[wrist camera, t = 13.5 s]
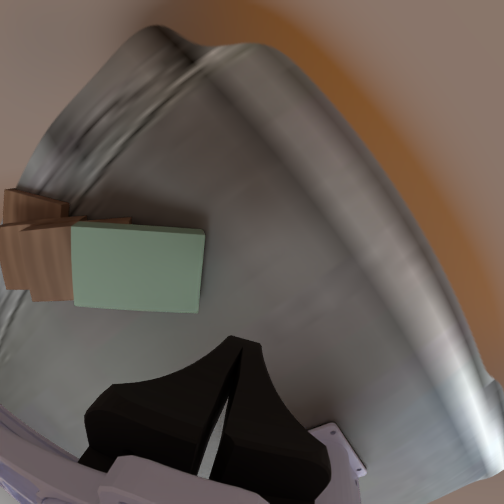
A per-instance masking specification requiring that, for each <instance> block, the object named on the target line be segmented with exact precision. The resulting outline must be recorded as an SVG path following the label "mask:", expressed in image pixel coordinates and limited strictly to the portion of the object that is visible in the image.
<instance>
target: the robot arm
mask: <svg viewBox="0 0 504 504" xmlns="http://www.w3.org/2000/svg"><path fill="white" fill-rule="evenodd" d="M228 396H229V398H228ZM227 399H228V403H227V408H226V414H225V419H224V425H223V430H222V436H221V440H220V444H219V447H218V451H217V454H216V457H215V460H214V464H213V467H212V470H211V473H210V477H209V479H205V478H202V477H198V476H197V474H198V471H199V468H200V465H201V462H202V459H203V456H204V453H205V450H206V447H207V444H208V441H209V439H210V436H211V434H212V432H213V429H214V427H215V425H216V423H217V421H218V419H219V416H220V414H221V412H222V410H223V408H224V405H225V403H226V401H227ZM84 423H85V428H86V433H87V438H88V442H89V447H88V448H87V450H86V451H85V452H84V454H83V455H82V457H81V458H80V459H79V458H77V457H75V456H74V455H72V454H70V453H69V452H67V451H65V450H64V449H62V448H60V447H59V446H57V445H56V444H54V443H52V442H51V441H49V440H48V439H46V438H45V437H43V436H42V435H40V434H39V433H38V432H36V431H35V430H33V429H32V428H30V427H29V426H28V425H26V424H25V423H24V422H22V421H21V420H20V419H18V418H17V417H16V416H14V415H13V414H12V413H11V412H9V411H8V410H7V409H6V408H5V407H3V406H2V405H1V404H0V486H1V487H2V488H3V489H4V490H6V491H7V492H8V493H9V494H10V495H11V496H12V497H14V498H15V499H16V500H17V501H18V502H19V503H21V504H361V497H360V489H359V481H358V477H361V476H364V475H366V474H367V470H366V468H365V467H364V465H363V464H362V462H361V461H360V459H359V458H358V456H357V455H356V453H355V452H354V450H353V449H352V447H351V446H350V444H349V443H348V441H347V440H346V438H345V437H344V435H343V434H342V432H341V431H340V429H339V428H338V426H337V425H336V424H335V423H328V424H325V425H323V426H320V427H317V428H314V429H311V430H308V431H307V430H306V429H305V428H304V427H303V426H302V425H301V424H300V423H299V422H298V421H297V420H296V419H295V418H294V416H293V415H292V414H291V413H290V412H289V410H288V409H287V408H286V406H285V405H284V403H283V402H282V400H281V399H280V397H279V395H278V393H277V392H276V390H275V388H274V386H273V383H272V381H271V379H270V376H269V374H268V371H267V368H266V365H265V362H264V358H263V354H262V346H261V345H260V343H257V342H253V341H250V340H246V339H242V338H239V337H235V336H232V335H230V336H228V337H227V338H226V339H225V340H224V341H223V342H222V343H221V344H220V345H219V346H218V347H216V348H215V349H214V350H212V351H211V352H210V353H209V354H207V355H206V356H204V357H203V358H201V359H200V360H198V361H196V362H195V363H193V364H191V365H190V366H188V367H186V368H184V369H181V370H179V371H177V372H175V373H172V374H169V375H166V376H163V377H160V378H156V379H152V380H147V381H142V382H135V383H124V384H112V385H111V386H110V387H109V388H108V389H107V390H105V391H104V392H103V393H102V394H101V395H100V396H99V397H98V398H97V399H96V400H95V402H94V403H93V404H92V405H91V406H90V407H89V409H88V410H87V411H86V413H85V415H84ZM332 431H333V432H332Z"/></svg>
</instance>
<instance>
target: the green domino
mask: <svg viewBox="0 0 504 504" xmlns="http://www.w3.org/2000/svg"><path fill="white" fill-rule="evenodd" d="M204 243H205V234H204V232H203V230H202V229H191V228H177V227H163V226H148V225H133V224H117V223H100V222H82V221H78V222H77V223H75V224H74V225H72V226H71V261H72V281H73V295H74V306H81V307H92V308H105V309H119V310H135V311H153V312H176V313H198V309H199V297H200V285H201V274H202V263H203V253H204Z"/></svg>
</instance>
